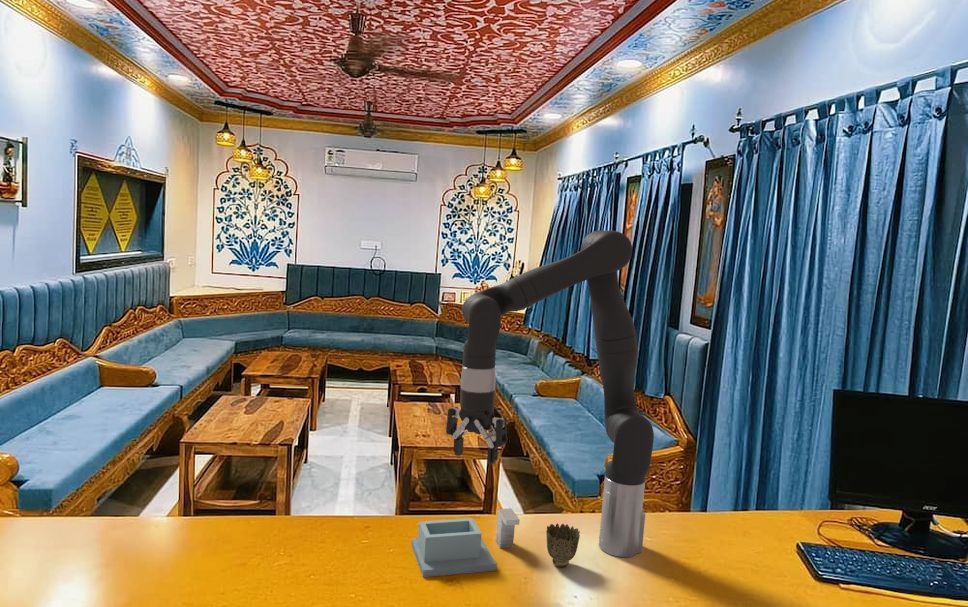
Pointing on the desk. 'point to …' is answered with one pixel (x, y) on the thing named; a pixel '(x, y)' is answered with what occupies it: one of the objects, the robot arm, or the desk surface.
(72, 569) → the desk surface
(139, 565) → the desk surface
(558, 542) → the cup
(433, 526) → the well board
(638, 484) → the robot arm
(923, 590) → the desk surface
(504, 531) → the grey painted wood block
